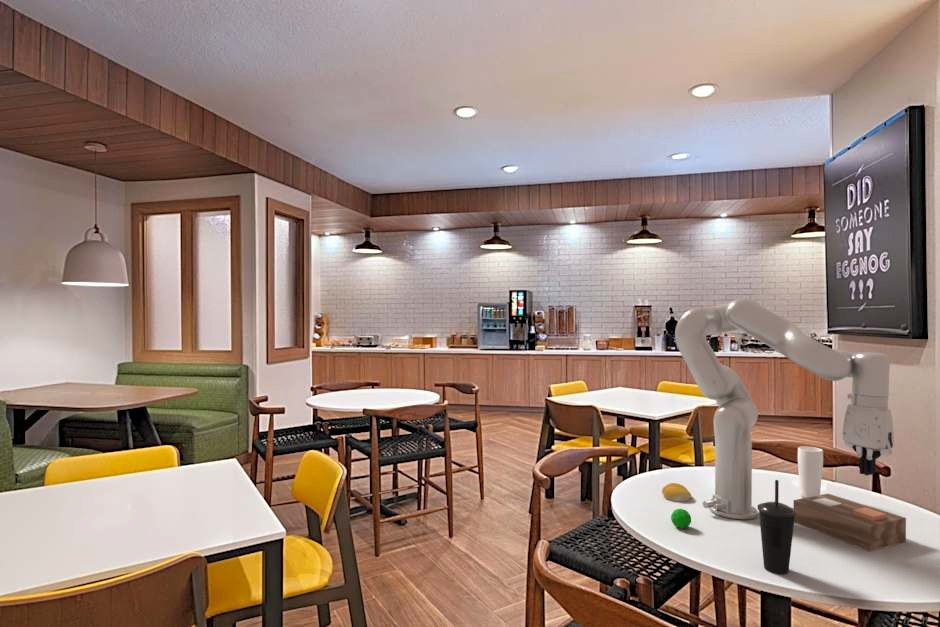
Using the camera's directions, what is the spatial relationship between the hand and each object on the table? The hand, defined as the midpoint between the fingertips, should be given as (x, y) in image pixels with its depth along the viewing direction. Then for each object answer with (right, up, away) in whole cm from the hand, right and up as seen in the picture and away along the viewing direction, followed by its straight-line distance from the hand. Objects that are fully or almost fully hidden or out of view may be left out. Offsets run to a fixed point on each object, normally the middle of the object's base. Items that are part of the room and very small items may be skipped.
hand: (866, 473), depth 143 cm
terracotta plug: (0, -14, 0) cm, 14 cm away
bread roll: (-37, -17, +32) cm, 51 cm away
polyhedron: (-44, -17, +8) cm, 48 cm away
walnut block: (-2, -17, +5) cm, 17 cm away
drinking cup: (-32, -17, -16) cm, 40 cm away
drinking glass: (+5, -16, +31) cm, 36 cm away
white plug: (-4, -14, +10) cm, 18 cm away
